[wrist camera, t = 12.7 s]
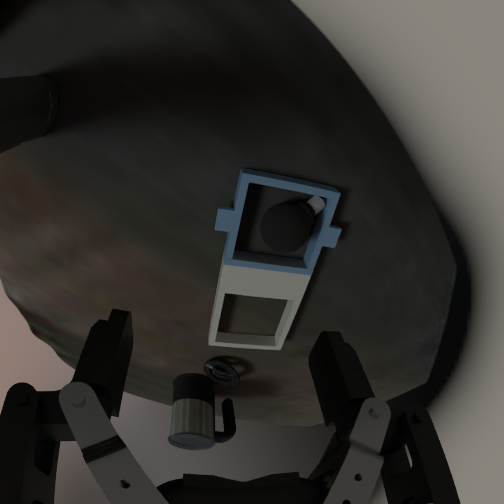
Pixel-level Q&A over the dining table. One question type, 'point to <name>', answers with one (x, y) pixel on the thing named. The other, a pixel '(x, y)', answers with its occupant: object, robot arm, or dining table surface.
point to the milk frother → (201, 408)
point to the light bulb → (289, 224)
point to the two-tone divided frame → (268, 261)
